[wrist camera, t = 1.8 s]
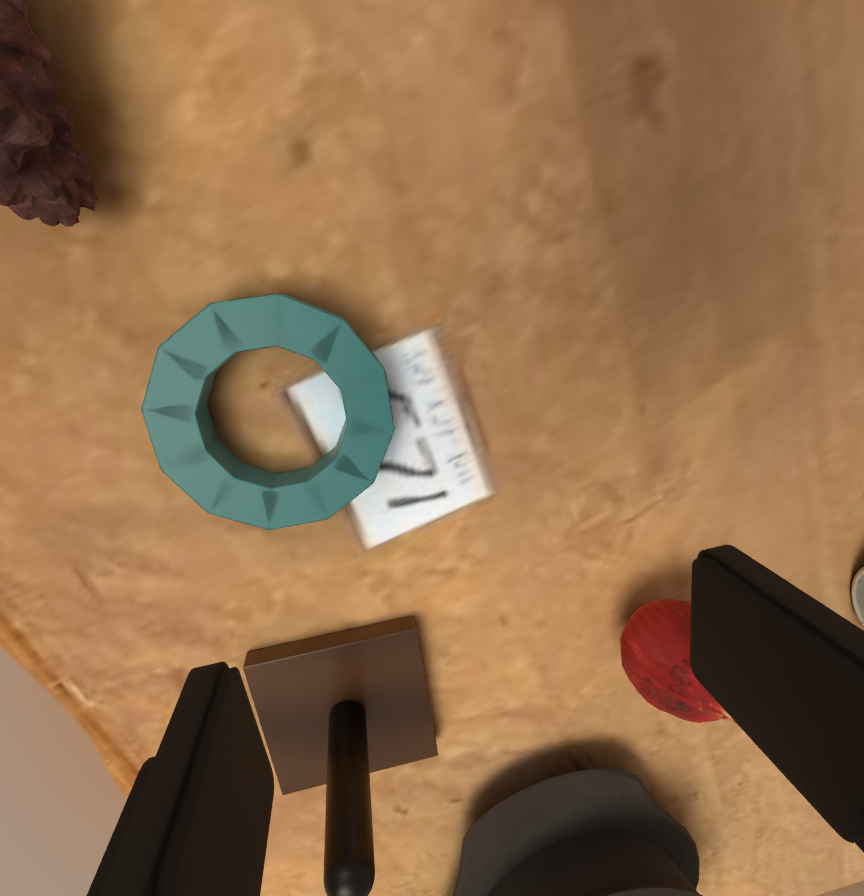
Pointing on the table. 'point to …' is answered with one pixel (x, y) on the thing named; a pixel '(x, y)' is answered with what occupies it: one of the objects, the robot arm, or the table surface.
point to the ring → (212, 464)
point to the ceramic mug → (858, 594)
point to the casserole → (579, 842)
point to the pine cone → (36, 130)
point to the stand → (344, 728)
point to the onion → (666, 661)
